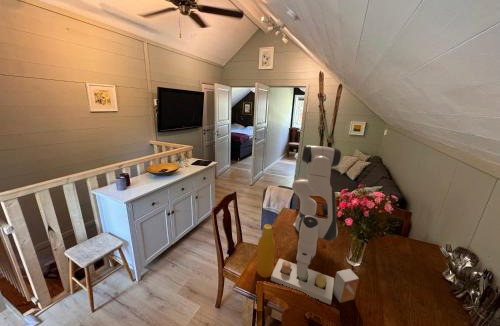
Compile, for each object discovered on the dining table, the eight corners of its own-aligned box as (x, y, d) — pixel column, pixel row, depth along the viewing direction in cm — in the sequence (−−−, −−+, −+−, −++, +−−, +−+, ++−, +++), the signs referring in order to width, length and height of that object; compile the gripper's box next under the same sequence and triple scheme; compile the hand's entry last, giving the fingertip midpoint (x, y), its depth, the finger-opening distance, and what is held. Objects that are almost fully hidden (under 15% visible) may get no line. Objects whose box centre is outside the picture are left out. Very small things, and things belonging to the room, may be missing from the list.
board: (279, 262, 123) (279, 258, 122) (333, 282, 110) (334, 278, 109) (270, 280, 110) (271, 275, 110) (330, 304, 98) (331, 300, 97)
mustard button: (316, 279, 109) (317, 272, 108) (325, 282, 107) (326, 275, 106) (314, 286, 105) (316, 279, 104) (324, 289, 103) (325, 282, 102)
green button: (299, 272, 113) (300, 266, 111) (307, 276, 111) (308, 269, 109) (297, 279, 109) (298, 272, 107) (306, 282, 107) (307, 275, 105)
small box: (340, 303, 99) (345, 282, 95) (331, 291, 105) (335, 271, 101) (354, 299, 101) (359, 278, 97) (345, 288, 107) (349, 268, 103)
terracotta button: (283, 266, 116) (283, 260, 115) (291, 269, 114) (291, 263, 113) (280, 272, 112) (281, 266, 111) (288, 275, 110) (289, 269, 109)
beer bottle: (263, 281, 110) (266, 234, 101) (253, 269, 117) (255, 224, 108) (276, 273, 115) (280, 227, 106) (265, 262, 122) (268, 219, 113)
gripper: (304, 235, 114) (301, 256, 118) (295, 259, 97) (292, 283, 101) (316, 238, 112) (313, 259, 116) (309, 264, 94) (305, 288, 98)
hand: (303, 270), depth 108 cm, fingers closed
